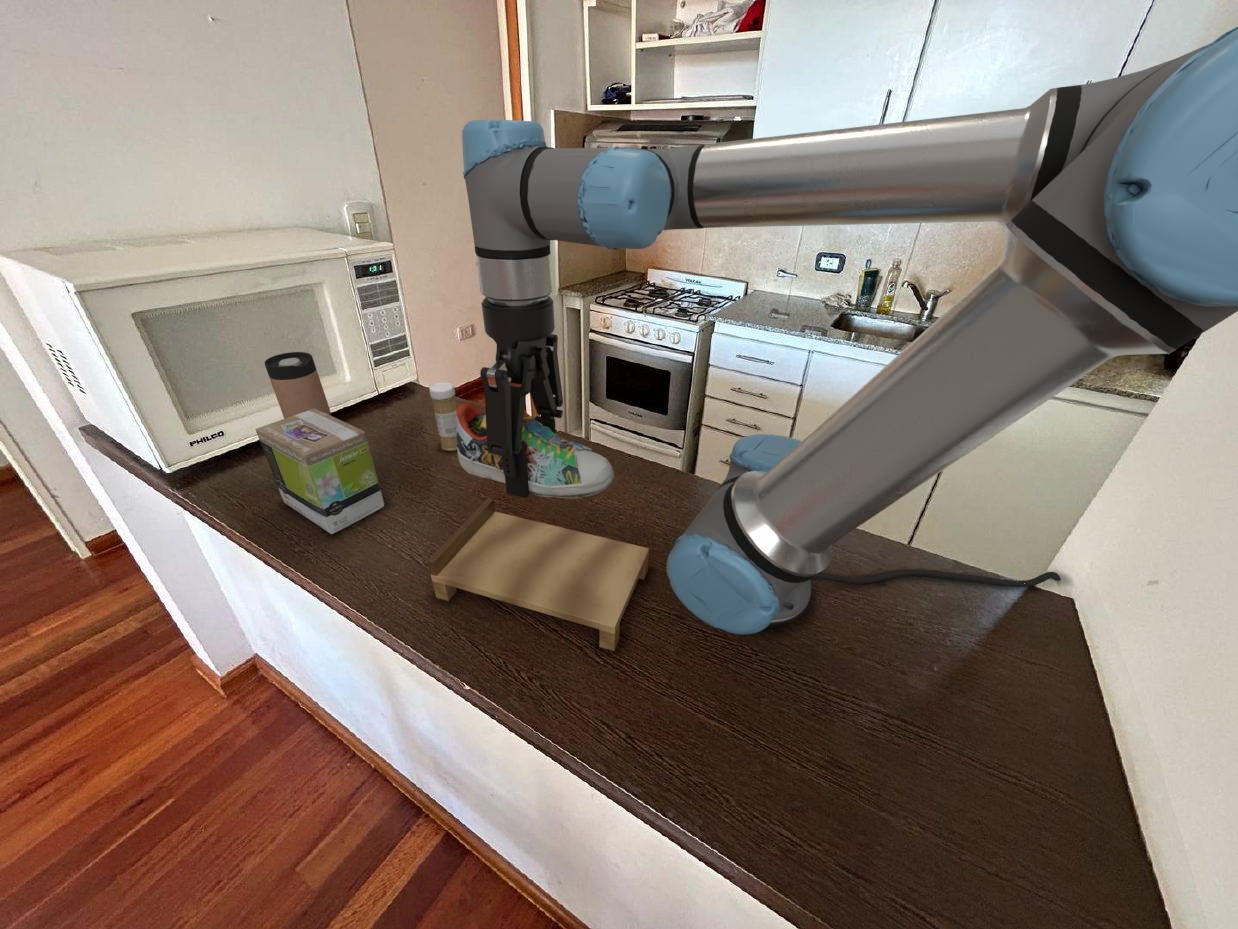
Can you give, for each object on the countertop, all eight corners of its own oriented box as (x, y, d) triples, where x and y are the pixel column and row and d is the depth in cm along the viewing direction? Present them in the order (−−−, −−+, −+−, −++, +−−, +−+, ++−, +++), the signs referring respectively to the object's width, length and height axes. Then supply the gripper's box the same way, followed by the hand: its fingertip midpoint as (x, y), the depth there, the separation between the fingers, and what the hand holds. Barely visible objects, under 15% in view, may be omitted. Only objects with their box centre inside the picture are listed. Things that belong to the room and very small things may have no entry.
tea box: (387, 506, 87) (366, 429, 80) (331, 537, 80) (302, 456, 72) (338, 477, 94) (314, 405, 87) (282, 504, 87) (251, 427, 80)
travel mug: (304, 448, 103) (269, 353, 92) (345, 443, 105) (316, 349, 94) (295, 468, 97) (258, 368, 86) (340, 462, 99) (308, 364, 88)
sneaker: (600, 511, 60) (598, 439, 55) (446, 478, 66) (431, 410, 61) (621, 478, 66) (621, 410, 61) (478, 450, 72) (467, 386, 67)
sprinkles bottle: (464, 440, 107) (454, 380, 100) (463, 451, 103) (453, 389, 96) (441, 442, 106) (429, 382, 99) (440, 453, 102) (427, 391, 95)
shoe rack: (647, 570, 75) (650, 535, 72) (614, 651, 63) (615, 613, 60) (493, 531, 82) (488, 497, 78) (436, 597, 70) (427, 561, 66)
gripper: (530, 274, 63) (542, 436, 75) (426, 318, 47) (463, 516, 59) (586, 279, 61) (589, 445, 73) (498, 327, 45) (521, 530, 57)
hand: (533, 477), depth 66 cm, fingers closed on sneaker, 7 cm apart
